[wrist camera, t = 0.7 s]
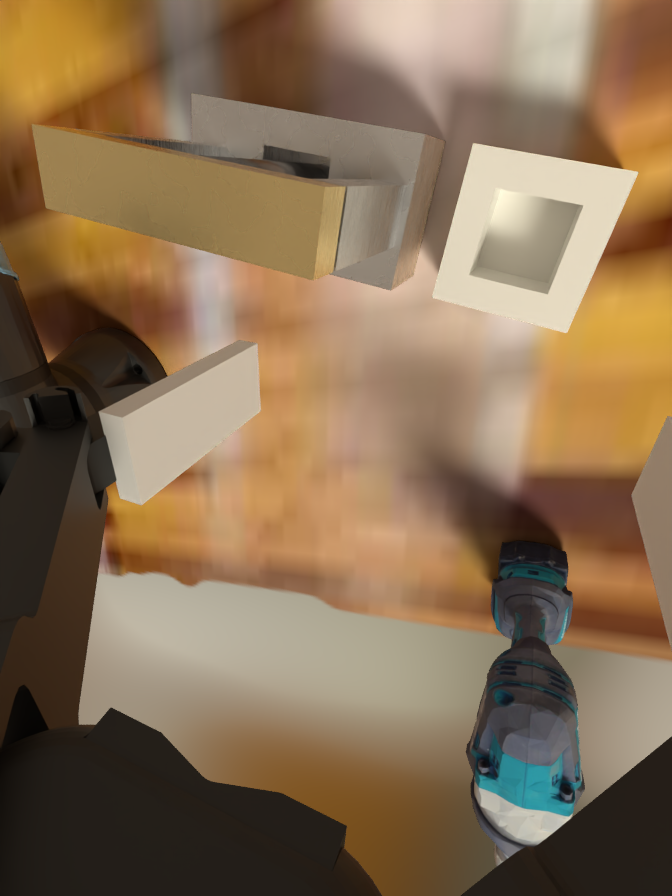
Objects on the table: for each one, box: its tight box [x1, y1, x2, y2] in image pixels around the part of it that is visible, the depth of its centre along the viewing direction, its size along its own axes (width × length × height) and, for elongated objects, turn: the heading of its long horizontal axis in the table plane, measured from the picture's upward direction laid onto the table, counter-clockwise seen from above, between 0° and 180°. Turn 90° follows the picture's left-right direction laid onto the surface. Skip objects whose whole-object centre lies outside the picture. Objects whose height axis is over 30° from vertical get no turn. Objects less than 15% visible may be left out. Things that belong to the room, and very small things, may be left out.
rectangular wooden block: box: [32, 124, 346, 280], centre depth 24 cm, size 17×4×2 cm, turn 80°
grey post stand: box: [77, 93, 445, 290], centre depth 33 cm, size 18×10×18 cm, turn 80°
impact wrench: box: [466, 541, 585, 867], centre depth 41 cm, size 8×23×25 cm, turn 8°
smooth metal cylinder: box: [199, 155, 330, 179], centre depth 32 cm, size 4×4×16 cm
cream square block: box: [432, 143, 638, 333], centre depth 34 cm, size 10×10×6 cm
